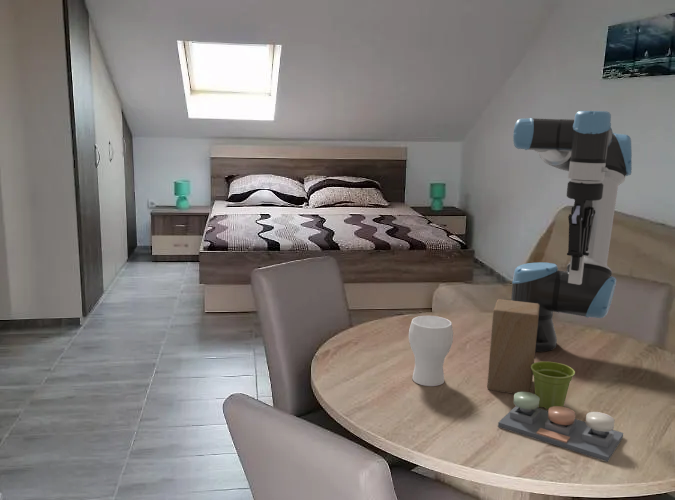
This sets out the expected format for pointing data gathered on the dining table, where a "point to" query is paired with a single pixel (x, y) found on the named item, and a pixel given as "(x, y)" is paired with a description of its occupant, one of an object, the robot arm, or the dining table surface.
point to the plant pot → (551, 382)
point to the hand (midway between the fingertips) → (574, 283)
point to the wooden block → (512, 346)
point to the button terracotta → (561, 415)
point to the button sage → (526, 401)
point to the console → (562, 433)
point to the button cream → (599, 422)
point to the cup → (430, 348)
